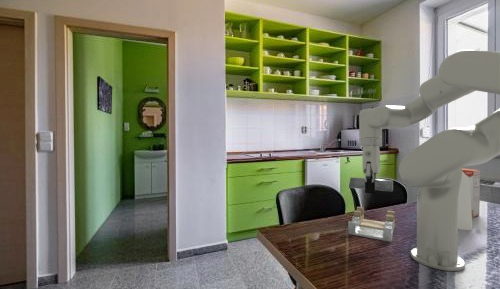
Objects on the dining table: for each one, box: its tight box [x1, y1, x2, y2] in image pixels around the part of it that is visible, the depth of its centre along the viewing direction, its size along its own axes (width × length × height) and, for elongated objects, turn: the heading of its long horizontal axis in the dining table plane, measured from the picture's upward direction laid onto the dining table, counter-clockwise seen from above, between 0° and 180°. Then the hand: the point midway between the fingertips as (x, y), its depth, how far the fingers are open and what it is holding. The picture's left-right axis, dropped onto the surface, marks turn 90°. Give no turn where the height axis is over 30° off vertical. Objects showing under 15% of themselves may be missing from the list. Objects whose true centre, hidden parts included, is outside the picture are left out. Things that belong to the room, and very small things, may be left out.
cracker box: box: [462, 167, 481, 218], centre depth 118 cm, size 14×6×21 cm, turn 25°
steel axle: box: [349, 176, 394, 192], centre depth 93 cm, size 4×14×4 cm, turn 57°
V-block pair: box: [347, 215, 394, 243], centre depth 94 cm, size 8×14×4 cm, turn 57°
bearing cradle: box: [353, 206, 396, 233], centre depth 102 cm, size 8×14×6 cm, turn 57°
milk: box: [458, 171, 474, 231], centre depth 103 cm, size 12×12×26 cm
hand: (370, 191), depth 93 cm, fingers closed on steel axle, 4 cm apart
